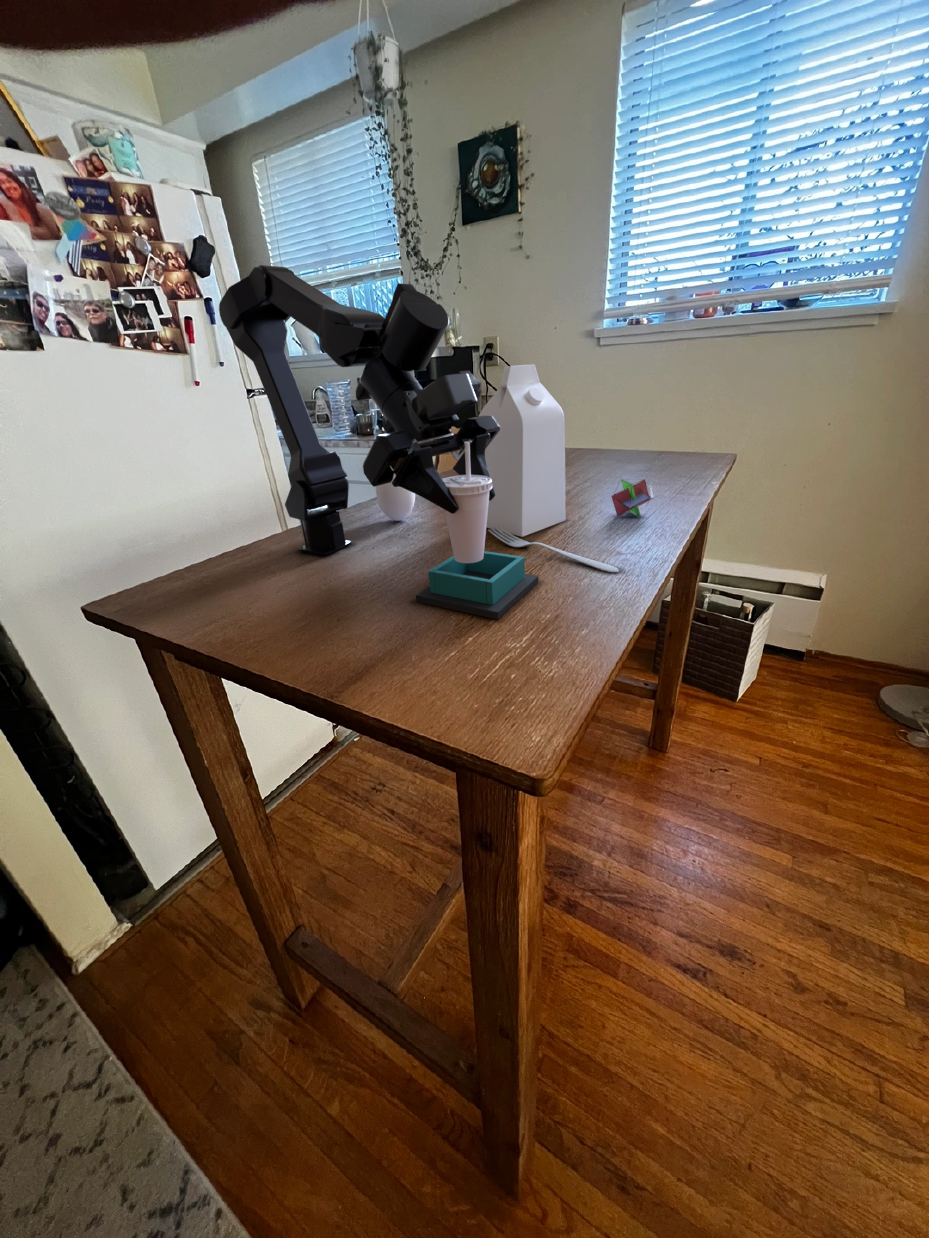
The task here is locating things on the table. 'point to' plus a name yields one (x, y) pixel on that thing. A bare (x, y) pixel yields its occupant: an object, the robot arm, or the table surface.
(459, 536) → the smoothie
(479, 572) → the dock pad
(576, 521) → the table surface
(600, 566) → the fork
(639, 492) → the geometric puzzle
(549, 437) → the milk
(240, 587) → the table surface
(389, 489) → the egg
